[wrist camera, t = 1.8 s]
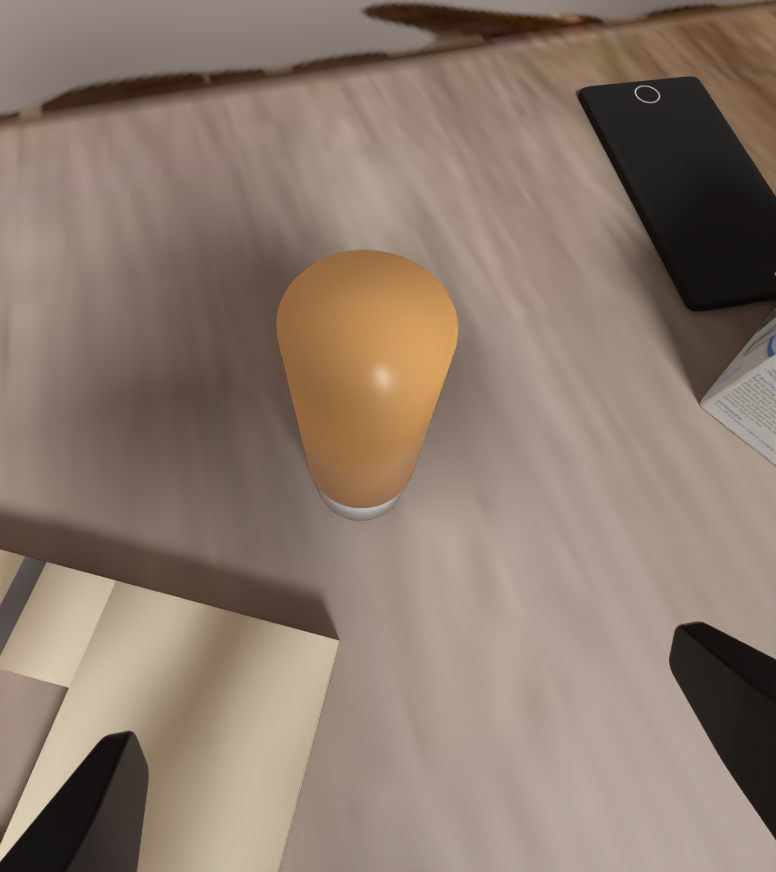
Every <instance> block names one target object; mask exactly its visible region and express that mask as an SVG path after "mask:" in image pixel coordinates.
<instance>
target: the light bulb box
mask: <svg viewBox="0 0 776 872" xmlns="http://www.w3.org/2000/svg"><path fill="white" fill-rule="evenodd" d="M700 406H701V407H702V408H703V409H704V410H705V411H707V412H708V413H709V414H710V415H711V416H713V417H714V418H715V419H717V420H718V421H719V422H720V423H722V424H723V425H724V426H725V427H727V428H728V429H729V430H731V431H732V432H733V433H735V434H736V435H737V436H738V437H739V438H741V439H742V440H743V441H745V442H746V443H747V444H749V445H750V446H751V447H752V448H754V449H755V450H756V451H758V452H759V453H760V454H761V455H763V456H764V457H765V458H767V459H768V460H769V461H770V462H772V463H773V464H774V465H776V308H775V310H774V311H773V312H772V313H771V314H770V316H769V317H768V318H767V319H766V321H765V322H764V323H763V324H762V326H761V327H760V328H759V329H758V331H757V332H756V333H755V334H754V335H753V337H752V338H751V339H750V340H749V341H748V343H747V344H746V345H745V346H744V347H743V349H742V350H741V351H740V353H739V354H738V355H737V356H736V357H735V359H734V360H733V361H732V362H731V363H730V365H729V366H728V367H727V368H726V369H725V371H724V372H723V373H722V374H721V376H720V377H719V378H718V379H717V381H716V382H715V383H714V384H713V386H712V387H711V388H710V389H709V391H708V392H707V393H706V394H705V396H704V397H703V398H702V400H701V401H700Z"/></svg>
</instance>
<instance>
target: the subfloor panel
mask: <svg viewBox="0 0 776 872" xmlns="http://www.w3.org/2000/svg"><path fill="white" fill-rule="evenodd" d="M339 643H340V641H339V640H335V639H331V638H328V637H324V636H320V635H316V634H313V633H309V632H305V631H302V630H298V629H294V628H290V627H287V626H283V625H279V624H276V623H272V622H268V621H264V620H261V619H257V618H253V617H250V616H246V615H242V614H238V613H235V612H231V611H227V610H223V609H220V608H216V607H212V606H209V605H205V604H201V603H197V602H194V601H190V600H186V599H183V598H179V597H175V596H171V595H168V594H164V593H160V592H157V591H153V590H149V589H145V588H142V587H138V586H134V585H130V584H127V583H123V582H119V581H116V580H112V579H108V578H104V577H101V576H97V575H93V574H90V573H86V572H82V571H78V570H75V569H71V568H67V567H64V566H60V565H56V564H52V563H49V562H45V561H41V560H38V559H34V558H30V557H26V556H23V555H19V554H15V553H11V552H8V551H4V550H0V669H3V670H7V671H10V672H14V673H17V674H21V675H25V676H28V677H32V678H36V679H39V680H43V681H46V682H50V683H54V684H57V685H61V686H64V687H68V688H69V689H68V691H67V694H66V696H65V698H64V701H63V703H62V705H61V707H60V710H59V712H58V714H57V716H56V719H55V721H54V723H53V726H52V728H51V730H50V732H49V735H48V737H47V739H46V742H45V744H44V746H43V748H42V751H41V753H40V755H39V758H38V760H37V762H36V764H35V767H34V769H33V771H32V773H31V776H30V778H29V780H28V783H27V785H26V787H25V789H24V792H23V794H22V796H21V799H20V801H19V803H18V805H17V808H16V810H15V812H14V815H13V817H12V819H11V821H10V824H9V826H8V828H7V830H6V833H5V835H4V837H3V840H2V842H1V844H0V861H1V860H2V859H3V857H4V856H5V855H6V854H7V852H8V851H9V850H10V849H11V848H12V846H13V845H14V844H15V843H16V842H17V840H18V839H19V838H20V837H21V835H22V834H23V833H24V832H25V831H26V829H27V828H28V827H29V826H30V824H31V823H32V822H33V821H34V820H35V818H36V817H37V816H38V815H39V814H40V812H41V811H42V810H43V809H44V807H45V806H46V805H47V804H48V803H49V801H50V800H51V799H52V798H53V797H54V795H55V794H56V793H57V792H58V790H59V789H60V788H61V787H62V786H63V784H64V783H65V782H66V781H67V779H68V778H69V777H70V776H71V775H72V773H73V772H74V771H75V770H76V769H77V767H78V766H79V765H80V764H81V762H82V761H83V760H84V759H85V758H86V756H87V755H88V754H89V753H90V751H91V750H92V749H93V748H94V747H95V745H96V744H97V743H98V742H99V741H100V740H101V739H102V738H103V737H104V736H106V735H109V734H113V733H119V732H124V731H133V732H134V733H135V734H136V736H137V738H138V741H139V743H140V746H141V748H142V751H143V753H144V756H145V758H146V761H147V764H148V768H149V783H148V791H147V799H146V807H145V814H144V822H143V830H142V838H141V845H140V853H139V861H138V869H137V872H279V870H280V866H281V862H282V858H283V855H284V851H285V847H286V843H287V840H288V836H289V832H290V828H291V824H292V821H293V817H294V813H295V809H296V805H297V802H298V798H299V794H300V790H301V787H302V783H303V779H304V775H305V771H306V768H307V764H308V760H309V756H310V752H311V749H312V745H313V741H314V737H315V734H316V730H317V726H318V722H319V718H320V715H321V711H322V707H323V703H324V699H325V696H326V692H327V688H328V684H329V681H330V677H331V673H332V669H333V665H334V662H335V658H336V654H337V650H338V646H339Z"/></svg>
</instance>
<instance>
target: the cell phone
mask: <svg viewBox="0 0 776 872" xmlns="http://www.w3.org/2000/svg"><path fill="white" fill-rule="evenodd" d="M578 99H579V101H580V103H581V105H582V107H583V109H584V111H585V113H586V114H587V116H588V118H589V120H590V122H591V124H592V126H593V128H594V130H595V132H596V134H597V136H598V138H599V140H600V142H601V144H602V145H603V147H604V149H605V151H606V153H607V155H608V157H609V159H610V161H611V163H612V165H613V167H614V169H615V171H616V173H617V174H618V176H619V178H620V180H621V182H622V184H623V186H624V188H625V190H626V192H627V194H628V196H629V198H630V200H631V202H632V204H633V205H634V207H635V209H636V211H637V213H638V215H639V217H640V219H641V221H642V223H643V225H644V227H645V229H646V231H647V233H648V234H649V236H650V238H651V240H652V242H653V244H654V246H655V248H656V250H657V252H658V254H659V256H660V258H661V260H662V262H663V263H664V265H665V267H666V269H667V271H668V273H669V275H670V277H671V279H672V281H673V283H674V285H675V287H676V289H677V291H678V293H679V294H680V296H681V298H682V300H683V302H684V304H685V305H686V307H687V308H688V309H690V310H692V311H706V310H712V309H718V308H724V307H730V306H736V305H742V304H748V303H753V302H759V301H765V300H771V299H776V196H775V195H774V193H773V192H772V190H771V189H770V187H769V185H768V184H767V182H766V181H765V179H764V178H763V176H762V175H761V173H760V172H759V170H758V169H757V167H756V166H755V164H754V162H753V161H752V159H751V158H750V156H749V155H748V153H747V152H746V150H745V149H744V147H743V146H742V144H741V143H740V141H739V139H738V138H737V136H736V135H735V133H734V132H733V130H732V129H731V127H730V126H729V124H728V123H727V121H726V120H725V118H724V116H723V115H722V113H721V112H720V110H719V109H718V107H717V106H716V104H715V103H714V101H713V100H712V98H711V97H710V95H709V93H708V92H707V90H706V89H705V87H704V86H703V84H702V83H701V82H700V80H699V79H698V78H696V77H678V78H668V79H658V80H648V81H638V82H628V83H618V84H608V85H598V86H590V87H585V88H583V89H581V91H580V94H579V96H578Z"/></svg>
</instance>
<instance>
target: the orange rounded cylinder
mask: <svg viewBox="0 0 776 872" xmlns="http://www.w3.org/2000/svg"><path fill="white" fill-rule="evenodd" d="M276 332H277V338H278V343H279V347H280V351H281V355H282V359H283V364H284V368H285V372H286V376H287V380H288V384H289V388H290V393H291V397H292V401H293V405H294V409H295V413H296V417H297V422H298V426H299V430H300V434H301V438H302V442H303V446H304V450H305V455H306V459H307V463H308V467H309V471H310V474H311V476H312V478H313V481H314V482H315V484H316V485H317V487H318V489H319V492H320V495H321V497H322V499H323V501H324V502H325V504H326V505H327V506H328V507H329V508H330V509H331V510H332V511H333V512H335V513H336V514H338V515H340V516H342V517H344V518H347V519H351V520H358V521H363V520H370V519H374V518H377V517H379V516H381V515H383V514H385V513H386V512H388V511H389V510H390V509H391V508H392V507H393V506H394V505H395V504H396V502H397V501H398V499H399V497H400V495H401V492H402V490H403V489H404V488H405V487H406V485H407V484H408V482H409V480H410V478H411V476H412V474H413V471H414V468H415V465H416V462H417V459H418V456H419V453H420V450H421V447H422V444H423V442H424V439H425V436H426V433H427V430H428V427H429V424H430V421H431V418H432V415H433V412H434V410H435V407H436V404H437V401H438V398H439V395H440V392H441V389H442V386H443V383H444V380H445V377H446V375H447V372H448V369H449V366H450V363H451V360H452V357H453V354H454V351H455V348H456V345H457V339H458V320H457V314H456V311H455V308H454V305H453V302H452V300H451V298H450V296H449V295H448V293H447V291H446V290H445V288H444V287H443V286H442V285H441V283H440V282H439V281H438V280H437V279H436V278H435V277H434V276H433V275H432V274H431V273H429V272H428V271H427V270H425V269H424V268H423V267H421V266H420V265H418V264H416V263H414V262H412V261H411V260H408V259H406V258H403V257H401V256H398V255H395V254H391V253H387V252H381V251H372V250H356V251H348V252H343V253H339V254H335V255H332V256H329V257H326V258H324V259H322V260H320V261H318V262H316V263H314V264H312V265H311V266H309V267H308V268H306V269H305V270H304V271H303V272H302V273H300V274H299V275H298V276H297V277H296V278H295V279H294V280H293V282H292V283H291V284H290V285H289V287H288V288H287V290H286V291H285V293H284V295H283V297H282V299H281V302H280V305H279V308H278V312H277V319H276Z"/></svg>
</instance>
